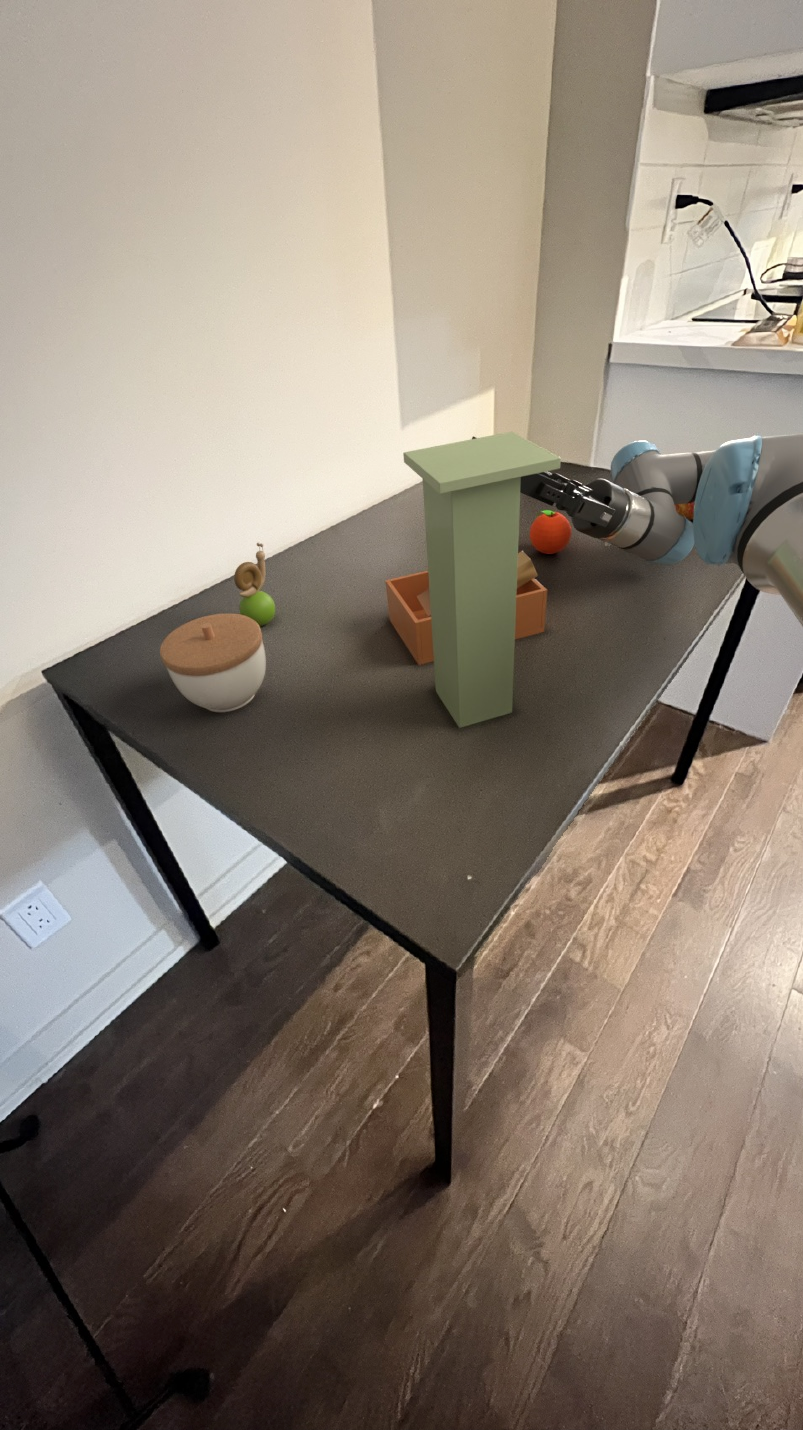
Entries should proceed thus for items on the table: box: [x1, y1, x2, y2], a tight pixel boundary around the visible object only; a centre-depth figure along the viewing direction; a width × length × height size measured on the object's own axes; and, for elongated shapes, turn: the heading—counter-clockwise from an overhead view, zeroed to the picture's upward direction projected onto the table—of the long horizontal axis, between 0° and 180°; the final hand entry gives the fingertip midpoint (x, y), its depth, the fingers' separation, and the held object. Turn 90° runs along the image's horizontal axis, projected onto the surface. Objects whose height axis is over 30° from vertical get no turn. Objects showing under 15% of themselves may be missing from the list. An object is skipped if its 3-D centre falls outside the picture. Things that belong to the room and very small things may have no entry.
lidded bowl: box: [159, 613, 267, 713], centre depth 80 cm, size 13×13×11 cm
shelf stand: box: [403, 431, 562, 728], centre depth 69 cm, size 12×10×30 cm
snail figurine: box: [233, 542, 276, 627], centre depth 95 cm, size 5×6×12 cm
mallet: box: [417, 550, 539, 617], centre depth 88 cm, size 16×6×5 cm, turn 105°
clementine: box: [529, 509, 572, 555], centre depth 107 cm, size 8×7×7 cm
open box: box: [385, 570, 548, 666], centre depth 90 cm, size 19×13×7 cm
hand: (490, 460), depth 79 cm, fingers open, 13 cm apart
